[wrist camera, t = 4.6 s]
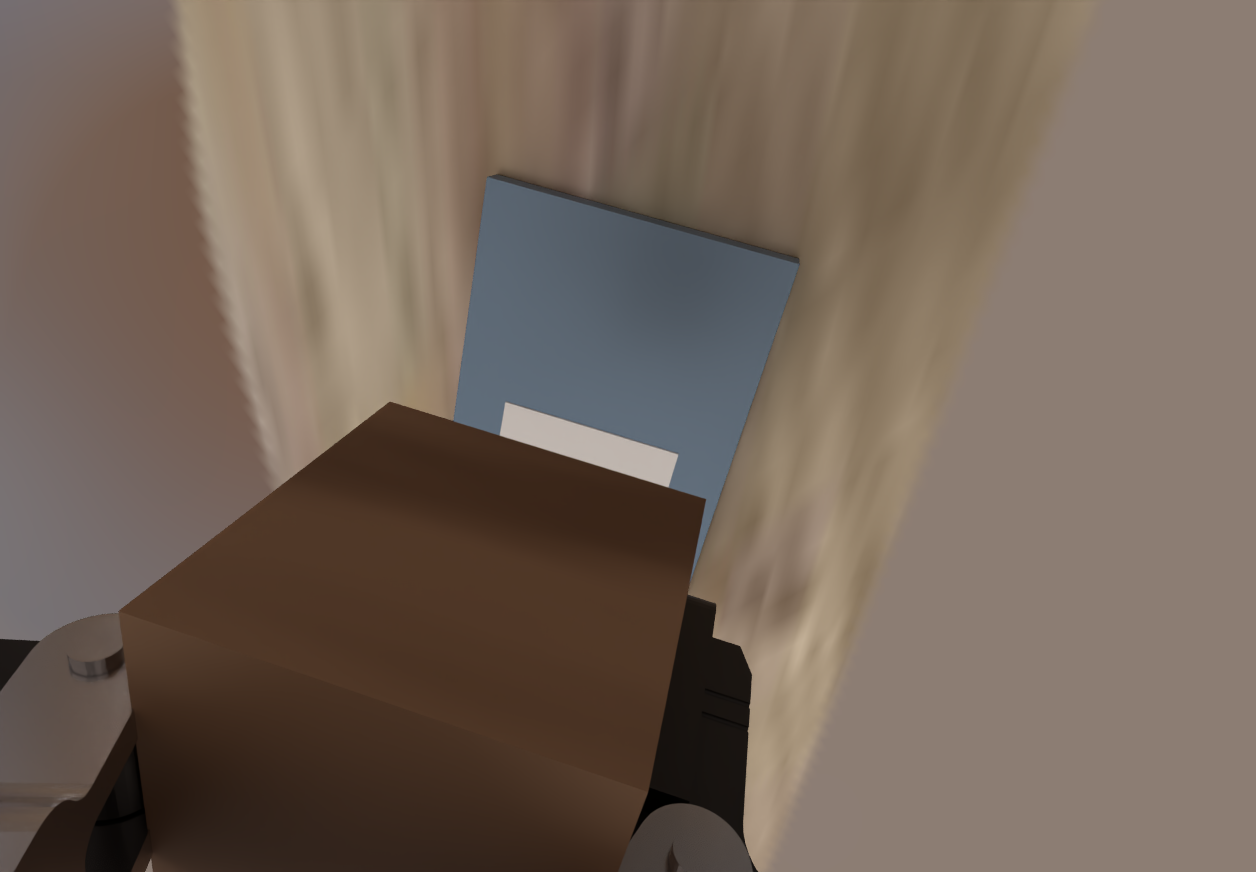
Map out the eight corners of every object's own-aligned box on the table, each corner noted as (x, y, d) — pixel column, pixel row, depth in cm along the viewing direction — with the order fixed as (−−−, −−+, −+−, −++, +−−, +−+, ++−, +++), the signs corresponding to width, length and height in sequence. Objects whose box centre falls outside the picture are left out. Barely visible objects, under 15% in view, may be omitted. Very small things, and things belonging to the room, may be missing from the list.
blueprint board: (497, 174, 25) (485, 177, 24) (798, 258, 25) (800, 264, 24) (429, 650, 36) (419, 665, 35) (640, 720, 35) (636, 738, 34)
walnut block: (389, 401, 11) (118, 611, 6) (706, 499, 11) (647, 793, 6) (369, 641, 13) (159, 917, 9) (629, 727, 13) (545, 1062, 8)
